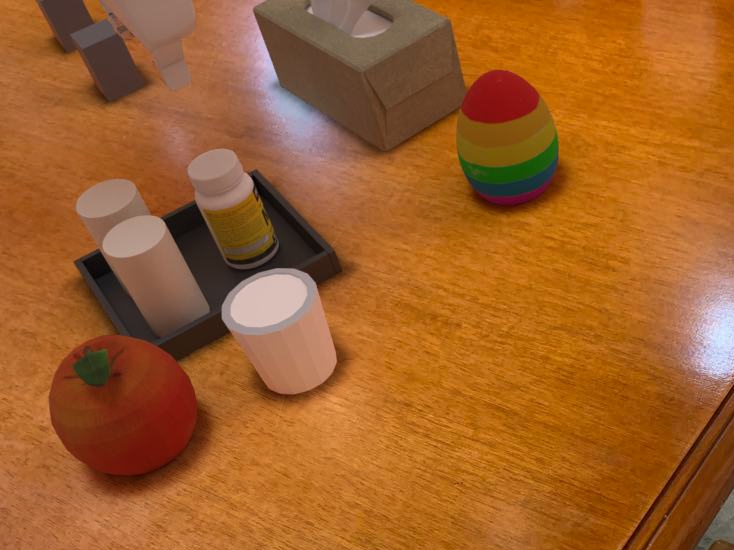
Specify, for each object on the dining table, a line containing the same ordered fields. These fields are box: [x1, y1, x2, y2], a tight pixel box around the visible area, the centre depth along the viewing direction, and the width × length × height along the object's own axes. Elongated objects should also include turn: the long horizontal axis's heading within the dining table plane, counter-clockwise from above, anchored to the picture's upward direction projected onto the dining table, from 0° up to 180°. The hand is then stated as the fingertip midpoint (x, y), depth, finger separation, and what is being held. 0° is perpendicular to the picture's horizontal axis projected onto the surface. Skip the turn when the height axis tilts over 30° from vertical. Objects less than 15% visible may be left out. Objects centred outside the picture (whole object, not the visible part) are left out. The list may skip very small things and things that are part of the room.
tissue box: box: [252, 0, 468, 153], centre depth 91 cm, size 19×10×16 cm, turn 41°
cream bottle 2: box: [102, 214, 210, 338], centre depth 78 cm, size 5×5×8 cm
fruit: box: [48, 334, 198, 477], centre depth 70 cm, size 10×10×10 cm
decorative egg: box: [455, 69, 560, 206], centre depth 82 cm, size 8×8×10 cm
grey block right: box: [70, 18, 146, 103], centre depth 103 cm, size 4×4×6 cm
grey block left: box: [35, 0, 95, 53], centre depth 111 cm, size 4×4×6 cm
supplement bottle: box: [186, 148, 279, 270], centre depth 82 cm, size 5×5×8 cm
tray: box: [72, 168, 343, 362], centre depth 84 cm, size 17×15×3 cm
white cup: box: [222, 268, 338, 395], centre depth 74 cm, size 7×7×7 cm
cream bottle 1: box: [75, 178, 152, 297], centre depth 82 cm, size 5×5×8 cm
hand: (154, 58), depth 73 cm, fingers open, 8 cm apart
